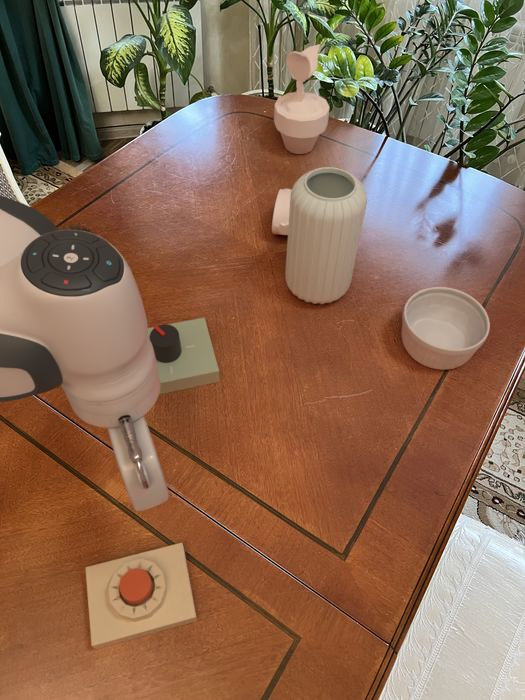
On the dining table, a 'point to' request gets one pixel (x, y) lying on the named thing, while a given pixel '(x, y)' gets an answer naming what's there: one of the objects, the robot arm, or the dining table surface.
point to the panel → (189, 359)
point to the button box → (150, 616)
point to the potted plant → (301, 105)
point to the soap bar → (281, 212)
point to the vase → (324, 234)
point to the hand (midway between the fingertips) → (135, 447)
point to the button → (136, 586)
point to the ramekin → (443, 327)
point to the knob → (166, 343)
